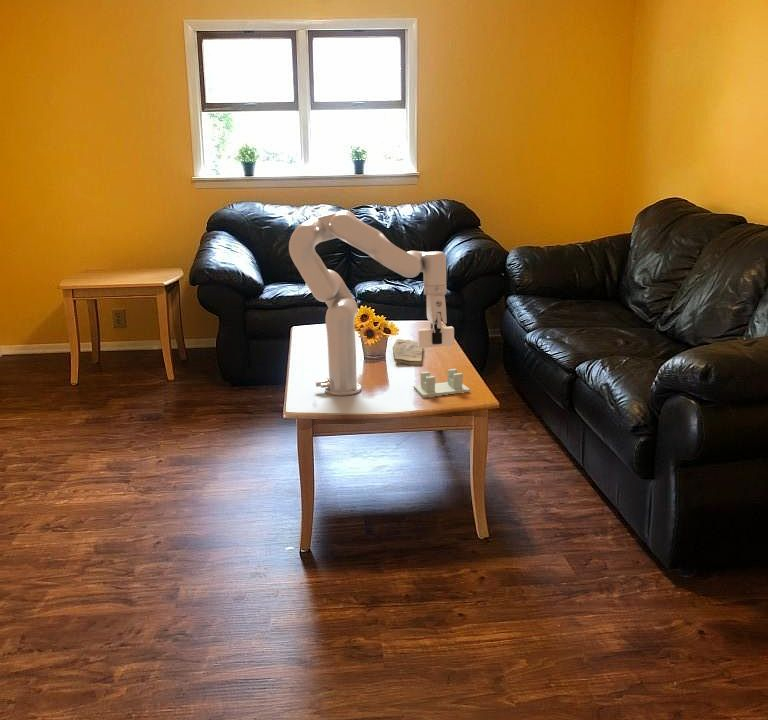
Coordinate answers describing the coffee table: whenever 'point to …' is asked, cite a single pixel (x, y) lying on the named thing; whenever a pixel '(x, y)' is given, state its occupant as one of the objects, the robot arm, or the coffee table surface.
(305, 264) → the robot arm
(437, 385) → the grey mounting plate
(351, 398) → the coffee table surface
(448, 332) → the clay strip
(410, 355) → the stone slab
